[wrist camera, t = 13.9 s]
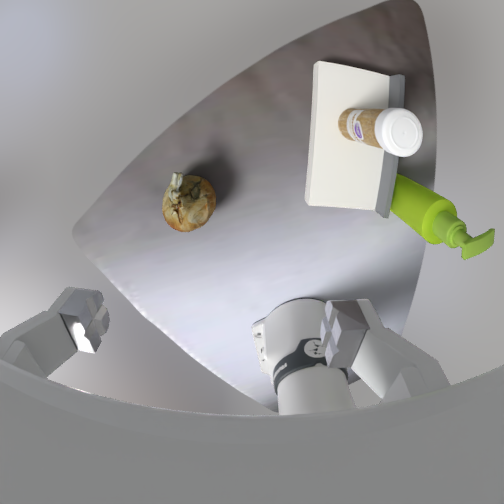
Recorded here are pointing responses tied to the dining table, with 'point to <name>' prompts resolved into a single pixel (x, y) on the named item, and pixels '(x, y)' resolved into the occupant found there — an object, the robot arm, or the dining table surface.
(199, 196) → the onion
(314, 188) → the white slab
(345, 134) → the sprinkles bottle
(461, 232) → the soap dispenser
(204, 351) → the dining table surface
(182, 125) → the dining table surface
